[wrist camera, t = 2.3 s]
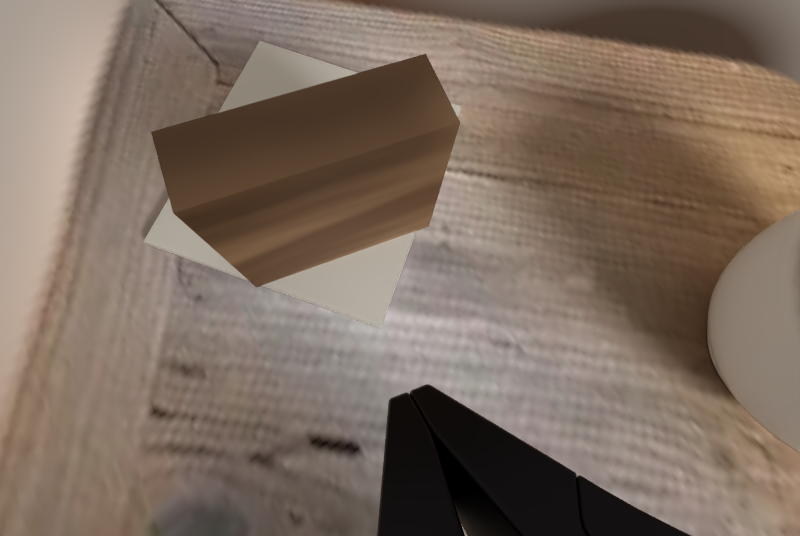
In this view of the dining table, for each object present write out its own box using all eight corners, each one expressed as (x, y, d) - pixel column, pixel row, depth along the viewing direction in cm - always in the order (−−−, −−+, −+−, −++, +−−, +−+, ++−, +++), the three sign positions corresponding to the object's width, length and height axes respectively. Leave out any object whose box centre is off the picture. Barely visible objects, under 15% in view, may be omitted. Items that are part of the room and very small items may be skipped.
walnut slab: (428, 226, 23) (460, 122, 14) (256, 287, 21) (173, 212, 13) (407, 179, 23) (425, 53, 15) (240, 235, 22) (151, 131, 13)
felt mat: (459, 113, 26) (461, 106, 25) (380, 328, 21) (380, 326, 21) (262, 48, 26) (259, 40, 26) (149, 245, 22) (143, 241, 22)
